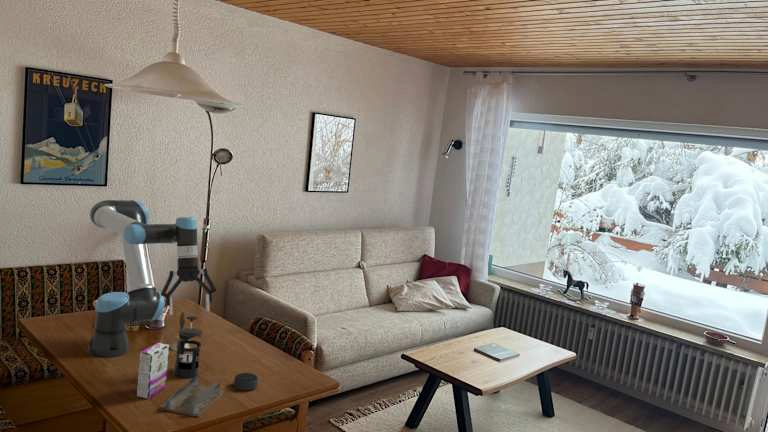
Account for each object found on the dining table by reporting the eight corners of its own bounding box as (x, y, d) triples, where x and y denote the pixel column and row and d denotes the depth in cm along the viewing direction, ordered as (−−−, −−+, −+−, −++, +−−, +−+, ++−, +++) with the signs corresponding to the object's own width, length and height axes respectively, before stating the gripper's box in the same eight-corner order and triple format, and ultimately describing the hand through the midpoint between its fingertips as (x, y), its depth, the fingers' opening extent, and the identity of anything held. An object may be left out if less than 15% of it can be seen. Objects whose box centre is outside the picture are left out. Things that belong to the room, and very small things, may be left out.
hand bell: (165, 348, 249) (169, 312, 247) (179, 343, 257) (182, 308, 255) (180, 353, 246) (184, 316, 244) (194, 347, 254) (198, 312, 252)
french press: (204, 376, 227) (210, 319, 224) (182, 381, 220) (188, 322, 217) (188, 365, 234) (193, 310, 232) (166, 370, 227) (172, 313, 225)
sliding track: (159, 409, 196) (160, 399, 196) (188, 385, 217) (189, 376, 217) (198, 417, 195) (199, 407, 194) (224, 392, 215) (225, 383, 215)
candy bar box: (153, 384, 214) (158, 341, 212) (166, 387, 213) (170, 344, 211) (135, 396, 203) (139, 351, 201) (147, 399, 202) (152, 354, 200)
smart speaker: (230, 389, 219) (232, 379, 218) (236, 380, 228) (237, 370, 227) (254, 393, 219) (255, 382, 218) (259, 383, 228) (260, 373, 227)
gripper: (154, 259, 215) (156, 316, 214) (222, 255, 227) (224, 310, 226) (151, 259, 222) (153, 315, 221) (218, 255, 234) (220, 308, 233)
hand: (189, 312), depth 223 cm, fingers open, 13 cm apart
